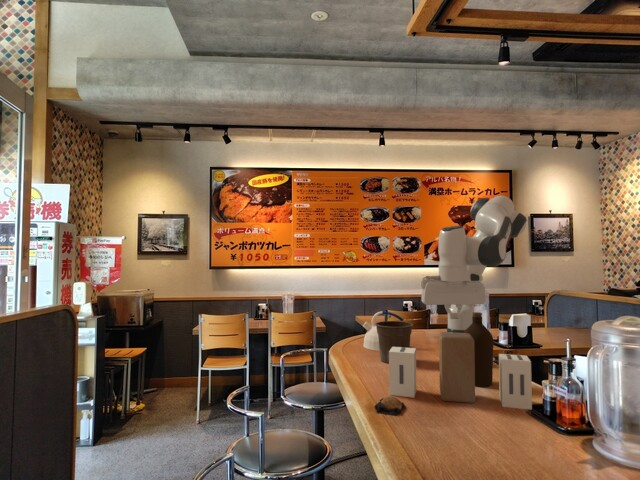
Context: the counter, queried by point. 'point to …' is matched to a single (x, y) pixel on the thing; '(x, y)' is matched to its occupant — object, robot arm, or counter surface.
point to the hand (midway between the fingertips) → (453, 318)
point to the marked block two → (515, 381)
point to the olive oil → (482, 351)
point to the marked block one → (402, 371)
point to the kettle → (374, 332)
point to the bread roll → (389, 406)
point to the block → (457, 367)
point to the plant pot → (393, 336)
